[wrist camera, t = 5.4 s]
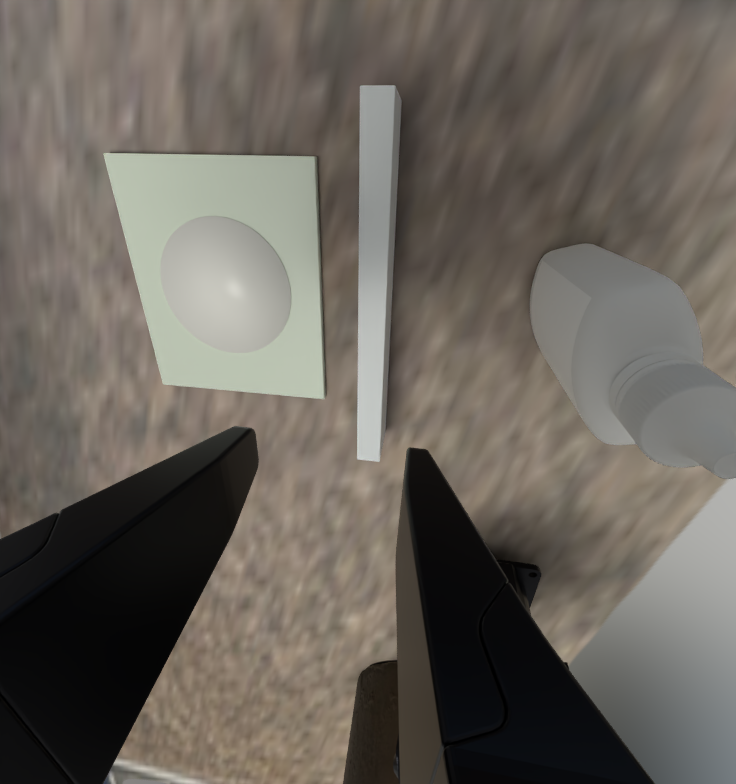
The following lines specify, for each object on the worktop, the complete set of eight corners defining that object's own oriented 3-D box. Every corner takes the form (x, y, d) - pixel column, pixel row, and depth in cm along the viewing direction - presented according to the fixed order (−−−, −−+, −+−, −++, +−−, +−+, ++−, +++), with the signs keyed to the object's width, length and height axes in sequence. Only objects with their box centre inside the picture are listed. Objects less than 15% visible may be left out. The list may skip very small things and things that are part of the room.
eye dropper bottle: (498, 345, 20) (566, 525, 10) (551, 230, 17) (725, 310, 7) (580, 369, 20) (738, 577, 10) (646, 259, 17) (967, 382, 7)
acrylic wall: (385, 430, 24) (379, 461, 21) (365, 428, 24) (357, 459, 21) (401, 100, 16) (395, 85, 13) (372, 100, 16) (359, 85, 13)
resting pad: (325, 395, 23) (323, 400, 23) (166, 381, 24) (162, 385, 24) (316, 156, 17) (313, 156, 17) (109, 153, 19) (101, 152, 18)
